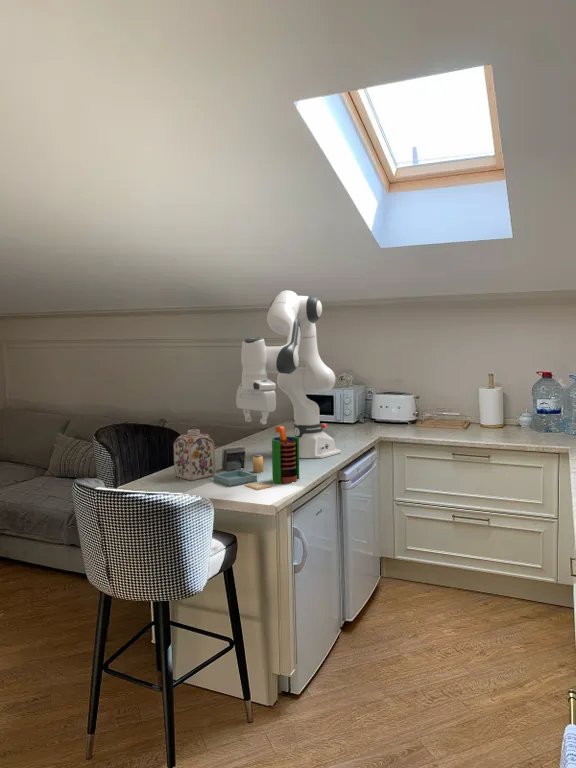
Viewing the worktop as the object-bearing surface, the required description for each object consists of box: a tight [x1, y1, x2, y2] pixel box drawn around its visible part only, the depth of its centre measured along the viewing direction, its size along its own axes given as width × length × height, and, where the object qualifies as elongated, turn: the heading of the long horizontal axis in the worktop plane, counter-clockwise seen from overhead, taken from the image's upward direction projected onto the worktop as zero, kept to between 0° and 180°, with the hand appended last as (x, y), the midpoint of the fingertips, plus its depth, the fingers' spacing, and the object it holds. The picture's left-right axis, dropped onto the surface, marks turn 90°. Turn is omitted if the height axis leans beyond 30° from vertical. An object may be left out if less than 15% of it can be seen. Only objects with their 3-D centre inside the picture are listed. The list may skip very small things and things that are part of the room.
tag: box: [244, 481, 272, 491], centre depth 212 cm, size 6×8×1 cm
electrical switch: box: [221, 445, 246, 471], centre depth 240 cm, size 9×5×9 cm, turn 113°
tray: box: [213, 469, 258, 488], centre depth 220 cm, size 12×12×2 cm
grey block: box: [226, 461, 242, 472], centre depth 230 cm, size 4×4×5 cm
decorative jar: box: [173, 429, 217, 482], centre depth 230 cm, size 12×12×18 cm
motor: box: [271, 425, 300, 485], centre depth 218 cm, size 10×9×20 cm
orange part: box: [252, 454, 264, 474], centre depth 234 cm, size 4×4×7 cm
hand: (255, 422), depth 210 cm, fingers open, 8 cm apart
